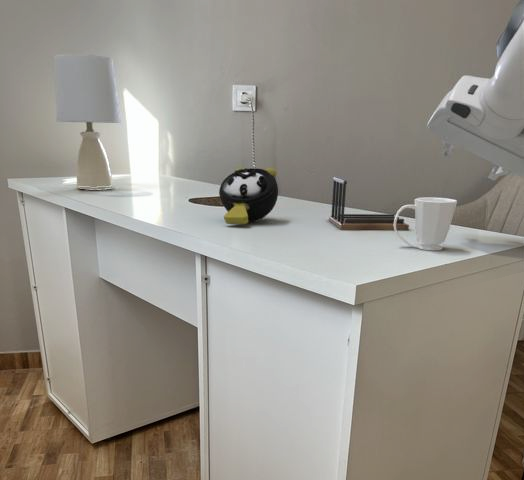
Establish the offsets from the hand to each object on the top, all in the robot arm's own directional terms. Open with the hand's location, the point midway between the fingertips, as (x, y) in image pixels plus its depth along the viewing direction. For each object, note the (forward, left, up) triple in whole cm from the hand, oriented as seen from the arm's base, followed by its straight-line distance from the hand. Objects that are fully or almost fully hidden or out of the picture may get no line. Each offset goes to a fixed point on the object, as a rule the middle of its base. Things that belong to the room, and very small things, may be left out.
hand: (469, 165), depth 103 cm
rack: (+15, -12, -13) cm, 23 cm away
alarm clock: (+40, -17, -13) cm, 45 cm away
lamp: (+84, -82, -13) cm, 118 cm away
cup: (+12, +12, -13) cm, 21 cm away
